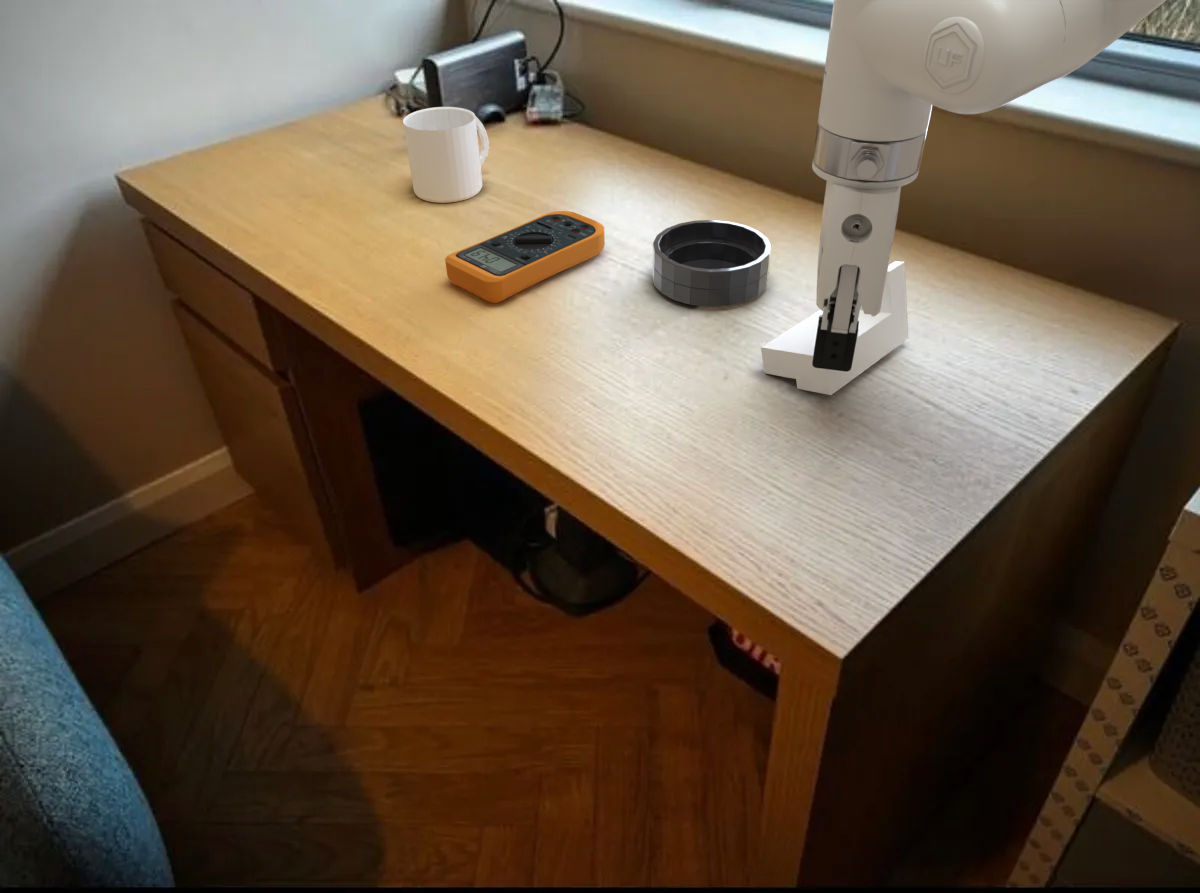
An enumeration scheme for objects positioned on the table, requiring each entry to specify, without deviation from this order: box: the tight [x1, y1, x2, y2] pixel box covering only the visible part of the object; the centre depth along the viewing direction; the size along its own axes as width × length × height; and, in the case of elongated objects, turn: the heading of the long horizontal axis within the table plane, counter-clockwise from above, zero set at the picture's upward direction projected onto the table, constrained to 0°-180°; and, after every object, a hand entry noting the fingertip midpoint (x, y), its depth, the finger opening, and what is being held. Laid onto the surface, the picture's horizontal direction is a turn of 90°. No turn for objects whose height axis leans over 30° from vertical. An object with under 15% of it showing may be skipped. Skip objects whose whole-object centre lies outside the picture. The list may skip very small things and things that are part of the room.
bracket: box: [760, 260, 910, 396], centre depth 83 cm, size 13×7×8 cm, turn 135°
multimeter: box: [444, 210, 606, 304], centre depth 100 cm, size 9×18×3 cm, turn 136°
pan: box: [651, 219, 772, 308], centre depth 96 cm, size 12×12×4 cm
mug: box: [402, 106, 490, 204], centre depth 117 cm, size 12×9×9 cm
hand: (831, 364), depth 76 cm, fingers closed
